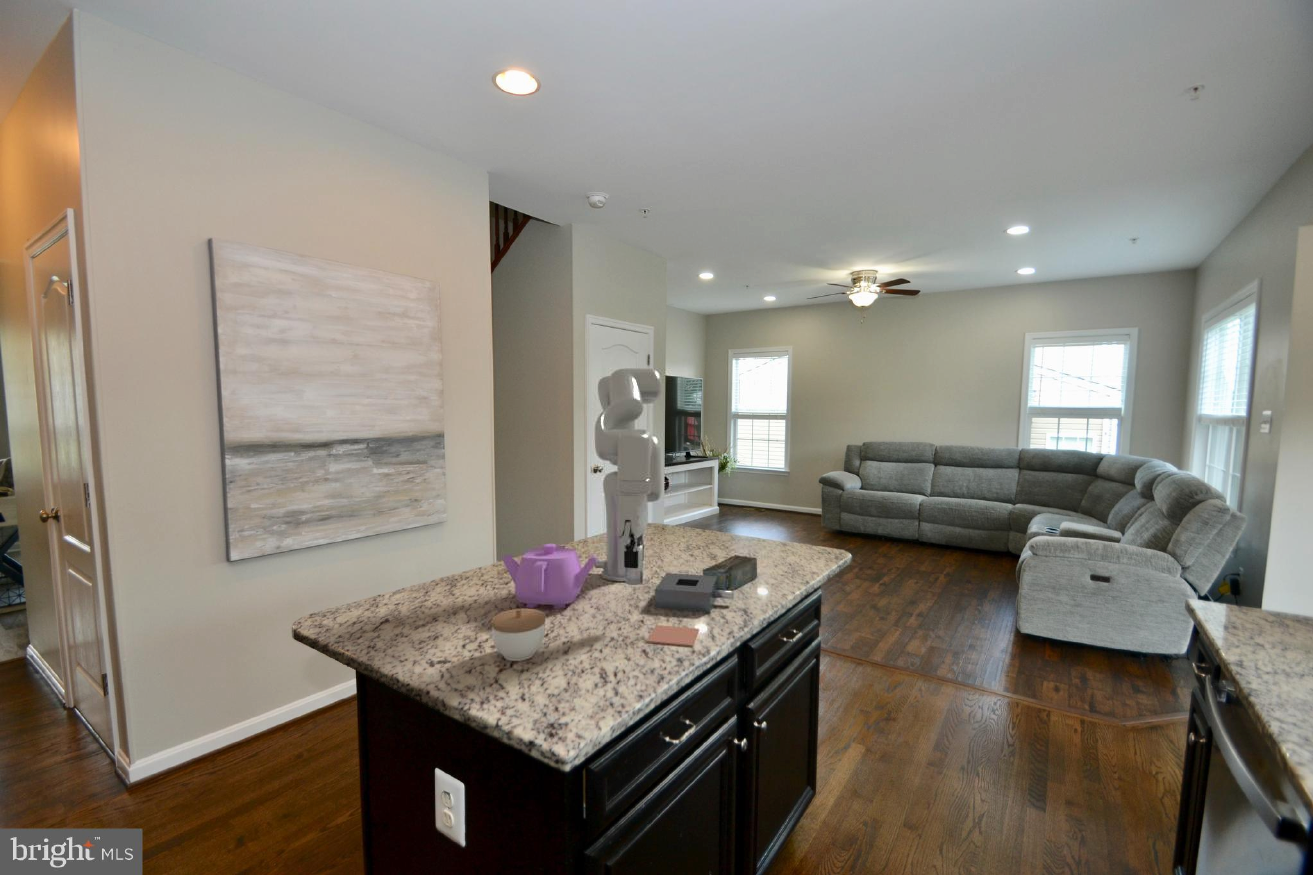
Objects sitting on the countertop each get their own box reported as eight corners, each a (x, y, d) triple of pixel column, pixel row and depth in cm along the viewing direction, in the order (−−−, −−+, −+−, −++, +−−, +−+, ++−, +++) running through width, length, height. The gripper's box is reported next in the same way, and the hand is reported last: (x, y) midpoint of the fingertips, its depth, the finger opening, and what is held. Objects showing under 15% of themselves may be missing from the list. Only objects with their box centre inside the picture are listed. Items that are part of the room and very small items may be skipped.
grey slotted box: (655, 608, 142) (655, 588, 142) (666, 590, 156) (666, 573, 155) (730, 614, 138) (730, 594, 137) (736, 595, 151) (736, 577, 151)
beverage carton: (701, 590, 157) (701, 566, 157) (734, 574, 172) (734, 552, 172) (726, 595, 152) (726, 571, 152) (758, 578, 167) (758, 556, 167)
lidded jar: (524, 639, 123) (523, 597, 123) (556, 652, 116) (556, 608, 116) (481, 656, 115) (480, 611, 114) (513, 671, 108) (512, 623, 108)
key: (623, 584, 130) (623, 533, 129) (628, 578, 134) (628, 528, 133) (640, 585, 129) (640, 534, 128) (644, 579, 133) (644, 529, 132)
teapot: (600, 602, 146) (599, 545, 146) (538, 620, 134) (537, 557, 133) (559, 585, 161) (559, 533, 160) (500, 600, 148) (499, 543, 148)
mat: (646, 642, 121) (646, 640, 121) (656, 626, 130) (656, 624, 130) (692, 646, 119) (692, 644, 119) (699, 630, 128) (699, 628, 128)
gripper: (628, 480, 138) (628, 553, 140) (606, 492, 122) (607, 574, 124) (658, 481, 136) (657, 555, 138) (640, 493, 120) (640, 577, 122)
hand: (634, 563), depth 131 cm, fingers closed on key, 4 cm apart
